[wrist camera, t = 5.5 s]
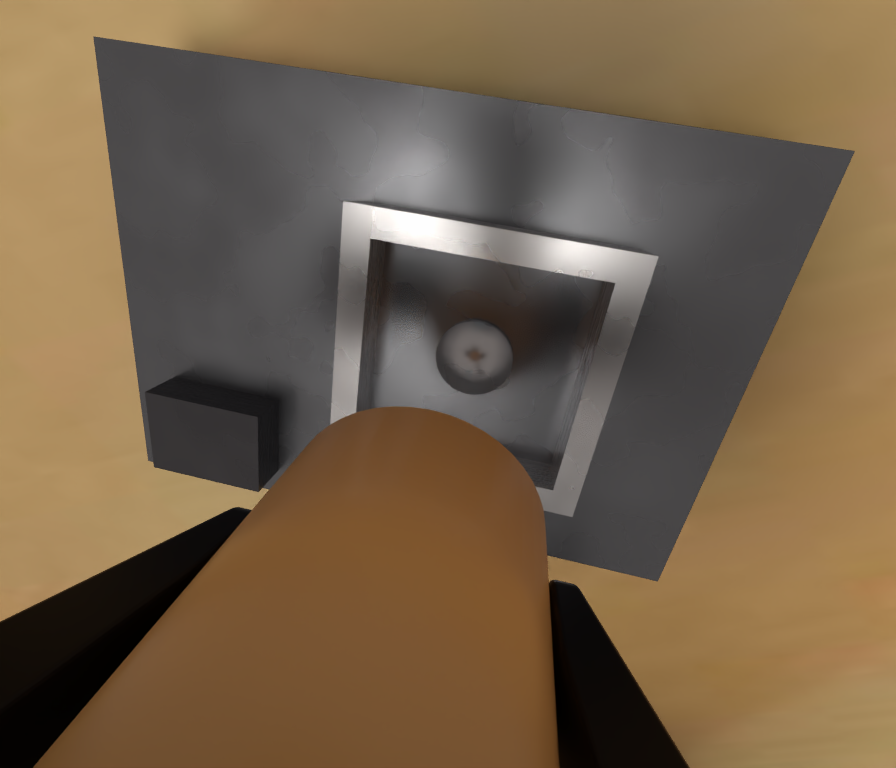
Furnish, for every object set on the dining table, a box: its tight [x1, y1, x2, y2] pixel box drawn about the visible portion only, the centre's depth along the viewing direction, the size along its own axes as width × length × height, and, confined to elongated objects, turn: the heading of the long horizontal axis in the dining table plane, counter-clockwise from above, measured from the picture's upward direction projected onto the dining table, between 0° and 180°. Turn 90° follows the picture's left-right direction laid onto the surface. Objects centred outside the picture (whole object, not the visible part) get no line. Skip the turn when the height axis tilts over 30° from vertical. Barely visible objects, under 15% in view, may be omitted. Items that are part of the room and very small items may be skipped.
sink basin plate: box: [94, 37, 855, 581], centre depth 15 cm, size 20×14×5 cm
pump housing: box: [33, 406, 560, 768], centre depth 6 cm, size 5×7×7 cm
